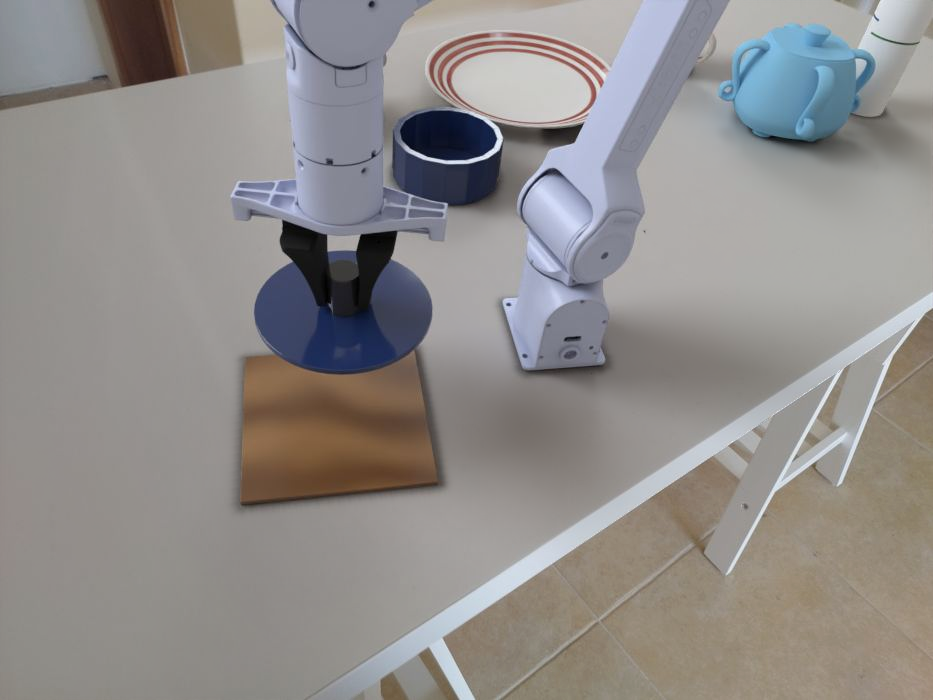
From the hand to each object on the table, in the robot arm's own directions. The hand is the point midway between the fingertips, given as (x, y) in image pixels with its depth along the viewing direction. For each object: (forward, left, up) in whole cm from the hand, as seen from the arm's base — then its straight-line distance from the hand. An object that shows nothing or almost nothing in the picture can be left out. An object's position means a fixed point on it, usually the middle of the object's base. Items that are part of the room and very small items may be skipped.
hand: (345, 300), depth 57 cm
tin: (+33, -14, -10) cm, 37 cm away
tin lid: (0, 0, -1) cm, 1 cm away
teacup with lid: (+61, -54, -11) cm, 82 cm away
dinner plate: (+53, -28, -11) cm, 61 cm away
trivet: (-3, +1, -10) cm, 11 cm away
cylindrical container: (+49, -80, -11) cm, 94 cm away
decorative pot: (+44, -64, -11) cm, 78 cm away
